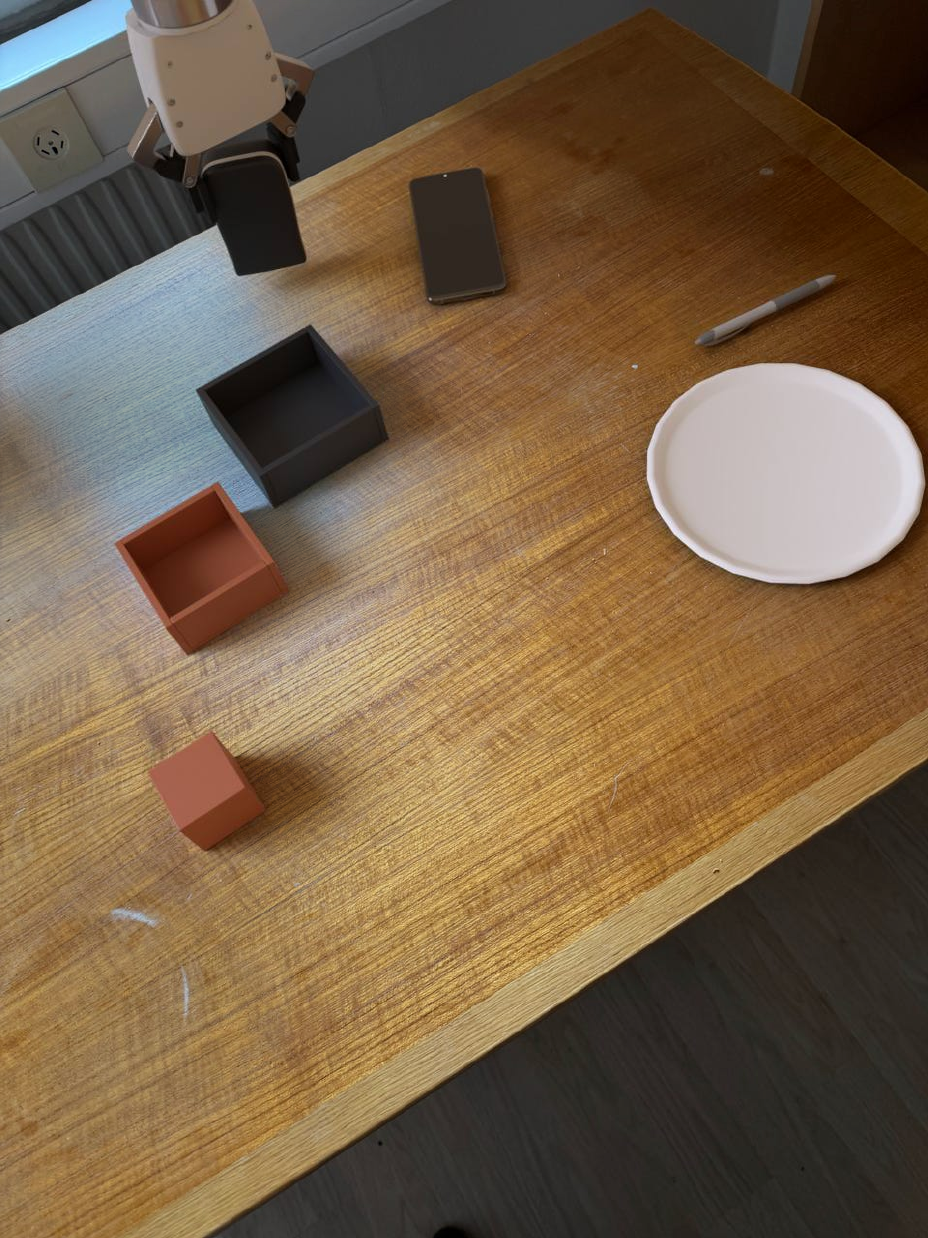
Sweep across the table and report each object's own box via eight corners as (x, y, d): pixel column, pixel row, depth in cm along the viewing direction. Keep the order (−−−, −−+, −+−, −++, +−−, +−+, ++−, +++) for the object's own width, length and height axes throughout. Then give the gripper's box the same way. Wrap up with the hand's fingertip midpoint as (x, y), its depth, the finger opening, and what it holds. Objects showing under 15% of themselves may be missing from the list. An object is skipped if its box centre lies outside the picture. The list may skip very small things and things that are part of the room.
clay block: (204, 851, 72) (179, 831, 67) (172, 795, 74) (146, 772, 69) (266, 810, 72) (245, 787, 68) (233, 756, 75) (211, 730, 70)
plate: (762, 641, 74) (764, 633, 73) (593, 451, 84) (593, 442, 83) (982, 498, 78) (987, 488, 77) (796, 332, 87) (799, 321, 86)
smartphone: (426, 301, 92) (407, 177, 99) (428, 309, 93) (408, 187, 100) (508, 286, 92) (482, 164, 99) (509, 295, 93) (483, 173, 100)
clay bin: (186, 655, 79) (165, 628, 75) (136, 572, 83) (113, 543, 79) (289, 590, 81) (274, 561, 77) (235, 513, 85) (217, 481, 81)
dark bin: (274, 509, 84) (259, 476, 81) (212, 423, 89) (194, 389, 85) (389, 439, 87) (379, 404, 83) (322, 359, 91) (310, 323, 88)
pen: (691, 346, 88) (692, 334, 87) (830, 280, 90) (833, 267, 88) (698, 354, 87) (699, 342, 86) (837, 287, 89) (840, 274, 88)
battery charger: (306, 236, 96) (275, 126, 86) (310, 265, 94) (280, 155, 84) (231, 251, 96) (192, 142, 86) (235, 280, 94) (195, 172, 84)
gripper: (262, -87, 76) (313, 127, 92) (48, 10, 73) (139, 215, 88) (313, -43, 73) (357, 171, 89) (91, 60, 70) (178, 264, 85)
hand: (248, 192), depth 88 cm, fingers closed on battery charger, 7 cm apart
